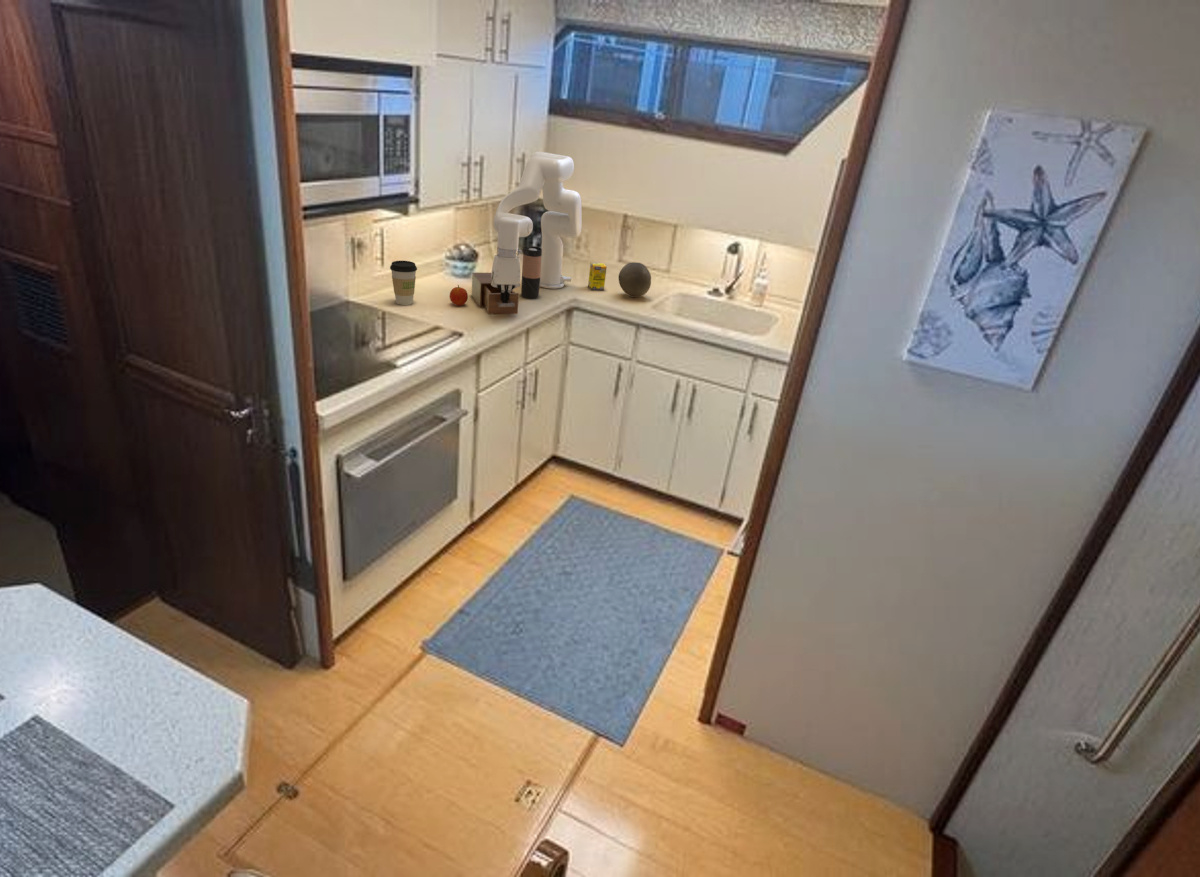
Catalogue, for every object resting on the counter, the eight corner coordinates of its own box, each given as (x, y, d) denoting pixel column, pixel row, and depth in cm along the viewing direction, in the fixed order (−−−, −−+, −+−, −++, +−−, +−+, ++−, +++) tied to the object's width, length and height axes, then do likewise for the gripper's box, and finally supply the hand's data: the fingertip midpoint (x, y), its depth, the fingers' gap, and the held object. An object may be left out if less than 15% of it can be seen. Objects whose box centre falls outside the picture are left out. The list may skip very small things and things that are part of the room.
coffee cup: (418, 306, 262) (417, 267, 255) (391, 306, 259) (390, 266, 252) (416, 298, 270) (416, 260, 263) (390, 298, 267) (389, 259, 260)
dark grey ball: (628, 290, 314) (632, 257, 306) (654, 298, 307) (659, 264, 300) (610, 295, 303) (614, 261, 296) (637, 304, 296) (642, 269, 289)
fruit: (471, 305, 271) (471, 285, 267) (460, 309, 265) (460, 288, 261) (456, 301, 273) (456, 281, 269) (445, 304, 268) (445, 284, 264)
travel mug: (535, 300, 285) (539, 251, 276) (518, 297, 286) (520, 248, 277) (541, 295, 292) (544, 247, 283) (523, 292, 293) (526, 245, 284)
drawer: (521, 317, 261) (522, 297, 257) (491, 318, 257) (492, 298, 253) (508, 302, 276) (509, 283, 272) (480, 303, 271) (480, 283, 268)
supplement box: (591, 290, 307) (594, 266, 302) (587, 286, 312) (590, 262, 306) (604, 290, 309) (607, 266, 303) (600, 286, 313) (602, 262, 308)
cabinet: (511, 306, 274) (512, 283, 270) (480, 307, 269) (480, 283, 265) (501, 295, 286) (502, 272, 281) (471, 295, 281) (472, 272, 277)
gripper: (524, 251, 256) (520, 299, 264) (484, 249, 250) (482, 299, 258) (530, 255, 250) (526, 305, 258) (489, 254, 244) (487, 305, 252)
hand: (504, 302), depth 258 cm, fingers closed
